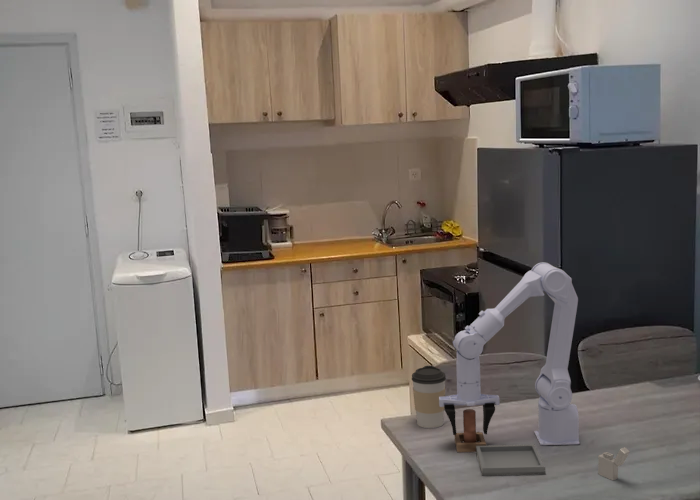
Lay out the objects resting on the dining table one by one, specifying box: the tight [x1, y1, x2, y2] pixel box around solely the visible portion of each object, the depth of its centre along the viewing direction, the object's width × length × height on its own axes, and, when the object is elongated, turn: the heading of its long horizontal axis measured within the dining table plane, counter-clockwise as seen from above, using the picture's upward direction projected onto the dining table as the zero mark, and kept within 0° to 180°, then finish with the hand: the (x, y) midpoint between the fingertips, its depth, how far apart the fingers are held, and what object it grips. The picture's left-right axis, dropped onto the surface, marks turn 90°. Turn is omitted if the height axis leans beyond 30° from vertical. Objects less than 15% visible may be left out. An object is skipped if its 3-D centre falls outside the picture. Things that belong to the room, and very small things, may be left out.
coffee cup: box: [411, 365, 447, 429], centre depth 195 cm, size 9×9×15 cm
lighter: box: [597, 446, 631, 481], centre depth 160 cm, size 7×2×8 cm, turn 32°
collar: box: [454, 431, 487, 453], centre depth 181 cm, size 7×7×2 cm
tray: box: [475, 444, 546, 477], centre depth 170 cm, size 14×12×2 cm
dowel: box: [462, 408, 477, 443], centre depth 180 cm, size 3×3×9 cm
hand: (469, 432), depth 180 cm, fingers open, 7 cm apart
